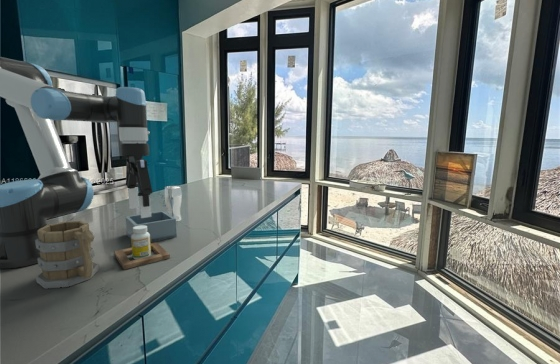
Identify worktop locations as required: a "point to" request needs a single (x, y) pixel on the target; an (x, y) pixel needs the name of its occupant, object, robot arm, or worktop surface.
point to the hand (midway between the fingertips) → (139, 212)
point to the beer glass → (173, 201)
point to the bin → (154, 225)
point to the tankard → (65, 254)
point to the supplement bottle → (140, 242)
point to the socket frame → (127, 263)
